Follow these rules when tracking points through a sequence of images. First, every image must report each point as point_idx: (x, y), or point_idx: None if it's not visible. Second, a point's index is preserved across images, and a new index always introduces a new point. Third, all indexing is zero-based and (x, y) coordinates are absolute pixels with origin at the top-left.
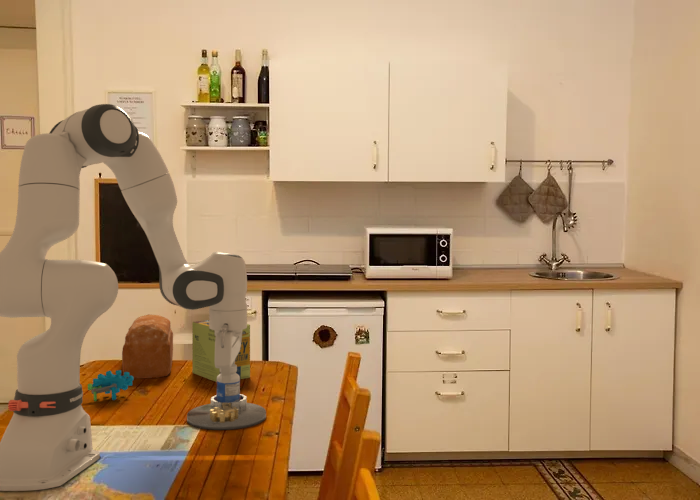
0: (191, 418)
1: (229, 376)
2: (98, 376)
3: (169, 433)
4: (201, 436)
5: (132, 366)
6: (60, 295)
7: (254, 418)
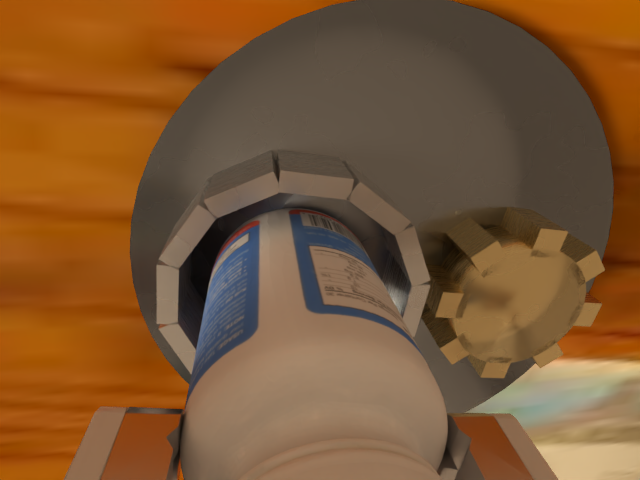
0: None
1: (551, 472)
2: None
3: None
4: (610, 344)
5: None
6: None
7: (563, 104)
